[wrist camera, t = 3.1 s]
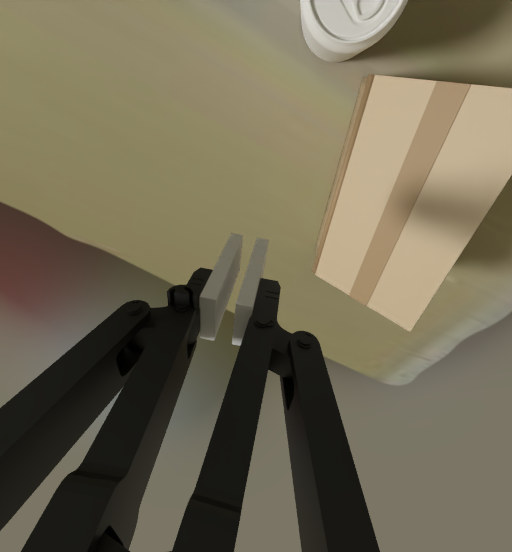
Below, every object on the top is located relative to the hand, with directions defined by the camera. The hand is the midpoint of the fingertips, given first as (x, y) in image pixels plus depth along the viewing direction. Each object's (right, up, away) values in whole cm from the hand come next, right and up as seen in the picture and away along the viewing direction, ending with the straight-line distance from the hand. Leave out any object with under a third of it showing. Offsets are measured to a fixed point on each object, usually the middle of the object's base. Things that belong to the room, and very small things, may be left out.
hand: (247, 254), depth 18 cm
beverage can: (+9, +26, +11) cm, 30 cm away
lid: (+15, +5, +10) cm, 18 cm away
